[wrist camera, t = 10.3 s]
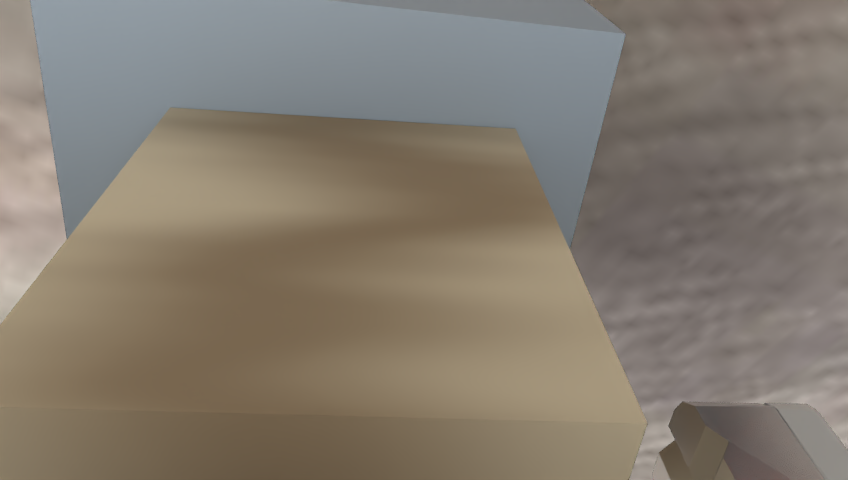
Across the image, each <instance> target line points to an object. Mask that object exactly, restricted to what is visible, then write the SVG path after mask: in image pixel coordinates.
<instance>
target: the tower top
mask: <svg viewBox="0 0 848 480" xmlns="http://www.w3.org/2000/svg"><path fill="white" fill-rule="evenodd" d="M30 3H31V9H32V16H33V22H34V29H35V35H36V42H37V48H38V55H39V61H40V68H41V74H42V80H43V87H44V93H45V100H46V106H47V113H48V119H49V126H50V132H51V139H52V145H53V152H54V158H55V165H56V171H57V178H58V184H59V191H60V197H61V204H62V210H63V217H64V223H65V230H66V236H67V239H68V238H69V236H70V235H71V234H72V232H73V231H74V230H75V229H76V227H77V226H78V225H79V224H80V222H81V221H82V220H83V218H84V217H85V216H86V215H87V213H88V212H89V211H90V209H91V208H92V207H93V206H94V204H95V203H96V202H97V200H98V199H99V198H100V197H101V195H102V194H103V193H104V192H105V190H106V189H107V188H108V186H109V185H110V184H111V183H112V181H113V180H114V179H115V177H116V176H117V175H118V174H119V172H120V171H121V170H122V168H123V167H124V166H125V165H126V163H127V162H128V161H129V160H130V158H131V157H132V156H133V154H134V153H135V152H136V151H137V149H138V148H139V147H140V145H141V144H142V143H143V142H144V140H145V139H146V138H147V136H148V135H149V134H150V133H151V131H152V130H153V129H154V128H155V126H156V125H157V124H158V122H159V121H160V120H161V119H162V117H163V116H164V115H165V113H166V112H167V111H168V110H169V108H170V107H171V108H187V109H203V110H220V111H236V112H252V113H268V114H285V115H301V116H317V117H333V118H350V119H366V120H382V121H398V122H415V123H431V124H447V125H463V126H480V127H496V128H512V129H516V131H517V133H518V135H519V137H520V140H521V142H522V144H523V146H524V149H525V151H526V153H527V155H528V158H529V160H530V162H531V164H532V166H533V169H534V171H535V173H536V175H537V178H538V180H539V182H540V184H541V187H542V189H543V191H544V193H545V196H546V198H547V200H548V202H549V204H550V207H551V209H552V211H553V213H554V216H555V218H556V220H557V222H558V225H559V227H560V229H561V231H562V234H563V236H564V238H565V240H566V242H567V245H568V247H569V249H570V247H571V243H572V239H573V235H574V232H575V228H576V224H577V220H578V216H579V212H580V208H581V205H582V201H583V197H584V193H585V189H586V185H587V182H588V178H589V174H590V170H591V166H592V162H593V158H594V155H595V151H596V147H597V143H598V139H599V135H600V132H601V128H602V124H603V120H604V116H605V112H606V109H607V105H608V101H609V97H610V93H611V89H612V85H613V82H614V78H615V74H616V70H617V66H618V62H619V59H620V55H621V51H622V47H623V43H624V39H625V35H626V34H625V33H624V32H623V31H622V30H620V29H619V28H618V27H617V26H615V25H614V24H613V23H612V22H611V21H609V20H608V19H607V18H606V17H604V16H603V15H602V14H601V13H599V12H598V11H597V10H596V9H595V8H593V7H592V6H591V5H590V4H588V3H587V2H586V1H585V0H30Z"/></svg>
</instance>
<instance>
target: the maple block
mask: <svg viewBox="0 0 848 480" xmlns="http://www.w3.org/2000/svg"><path fill="white" fill-rule="evenodd" d="M646 427H647V421H646V419H645V417H644V415H643V412H642V410H641V408H640V406H639V403H638V401H637V399H636V397H635V394H634V392H633V390H632V388H631V386H630V383H629V381H628V379H627V377H626V374H625V372H624V370H623V368H622V365H621V363H620V361H619V359H618V356H617V354H616V352H615V350H614V348H613V345H612V343H611V341H610V339H609V336H608V334H607V332H606V330H605V327H604V325H603V323H602V321H601V318H600V316H599V314H598V312H597V310H596V307H595V305H594V303H593V301H592V298H591V296H590V294H589V292H588V289H587V287H586V285H585V283H584V280H583V278H582V276H581V274H580V272H579V269H578V267H577V265H576V263H575V260H574V258H573V256H572V254H571V251H570V249H569V247H568V245H567V242H566V240H565V238H564V236H563V234H562V231H561V229H560V227H559V225H558V222H557V220H556V218H555V216H554V213H553V211H552V209H551V207H550V204H549V202H548V200H547V198H546V196H545V193H544V191H543V189H542V187H541V184H540V182H539V180H538V178H537V175H536V173H535V171H534V169H533V166H532V164H531V162H530V160H529V158H528V155H527V153H526V151H525V149H524V146H523V144H522V142H521V140H520V137H519V135H518V133H517V131H516V129H512V128H496V127H480V126H463V125H447V124H431V123H415V122H398V121H382V120H366V119H350V118H333V117H317V116H301V115H285V114H268V113H252V112H236V111H220V110H203V109H187V108H171V107H170V108H169V110H168V111H167V112H166V113H165V115H164V116H163V117H162V119H161V120H160V121H159V122H158V124H157V125H156V126H155V128H154V129H153V130H152V131H151V133H150V134H149V135H148V136H147V138H146V139H145V140H144V142H143V143H142V144H141V145H140V147H139V148H138V149H137V151H136V152H135V153H134V154H133V156H132V157H131V158H130V160H129V161H128V162H127V163H126V165H125V166H124V167H123V168H122V170H121V171H120V172H119V174H118V175H117V176H116V177H115V179H114V180H113V181H112V183H111V184H110V185H109V186H108V188H107V189H106V190H105V192H104V193H103V194H102V195H101V197H100V198H99V199H98V200H97V202H96V203H95V204H94V206H93V207H92V208H91V209H90V211H89V212H88V213H87V215H86V216H85V217H84V218H83V220H82V221H81V222H80V224H79V225H78V226H77V227H76V229H75V230H74V231H73V232H72V234H71V235H70V236H69V238H68V239H67V240H66V241H65V243H64V244H63V245H62V247H61V248H60V249H59V250H58V252H57V253H56V254H55V256H54V257H53V258H52V259H51V261H50V262H49V263H48V265H47V266H46V267H45V268H44V270H43V271H42V272H41V273H40V275H39V276H38V277H37V279H36V280H35V281H34V282H33V284H32V285H31V286H30V288H29V289H28V290H27V291H26V293H25V294H24V295H23V297H22V298H21V299H20V300H19V302H18V303H17V304H16V305H15V307H14V308H13V309H12V311H11V312H10V313H9V314H8V316H7V317H6V318H5V320H4V321H3V322H2V323H1V325H0V480H629V478H630V475H631V472H632V469H633V466H634V463H635V460H636V457H637V454H638V451H639V448H640V445H641V442H642V439H643V436H644V433H645V430H646Z"/></svg>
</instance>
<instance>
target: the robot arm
mask: <svg viewBox="0 0 848 480" xmlns="http://www.w3.org/2000/svg"><path fill="white" fill-rule="evenodd" d="M669 428H670V430H671V432H672V434H673V436H674V438H675V441H673V442H672V443H671V444H669V445H668V446H667V447H666V448H664V449H663V450H662V451H660V452H659V454H658V457H657V460H656V463H655V467H654V470H653V480H848V450H847V448H846V447H845V446H844V445H843V443H842V442H841V441H840V439H839V438H838V437H837V435H836V434H835V433H834V431H833V430H832V429H831V427H830V426H829V425H828V423H827V422H826V421H825V420H824V418H823V417H822V416H821V414H820V413H819V412H818V411H817V410H816V409H814V408H812V407H811V406H809V405H808V404H790V403H764V404H759V403H723V402H685V401H683V402H682V403H681V404H680V405H679V406H678V407H677V408H676V409H675V410H674V413H673V415H672V418H671V421H670V423H669Z"/></svg>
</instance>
